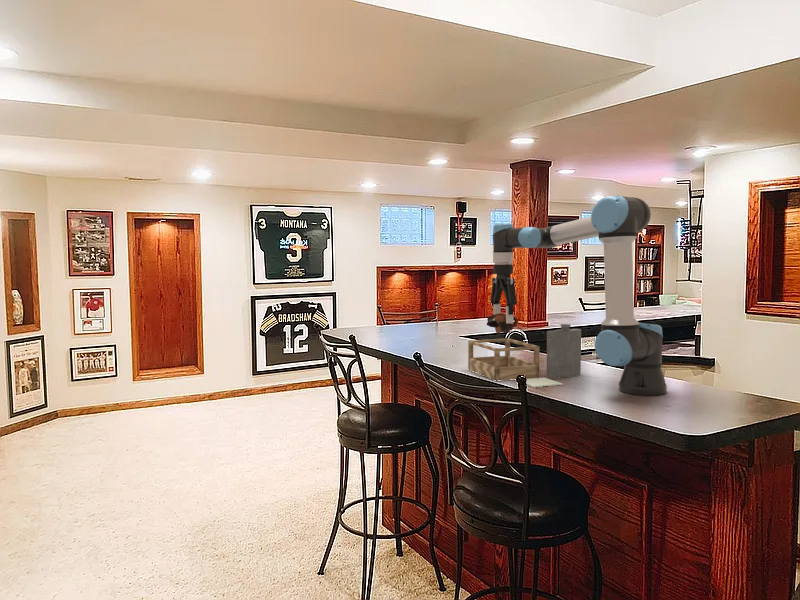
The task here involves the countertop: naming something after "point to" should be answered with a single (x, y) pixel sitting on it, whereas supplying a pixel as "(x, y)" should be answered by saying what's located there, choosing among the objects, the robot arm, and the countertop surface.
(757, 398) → the countertop surface
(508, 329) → the pottery mug
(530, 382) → the sage board
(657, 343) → the robot arm
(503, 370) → the oak crate
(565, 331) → the hip flask
